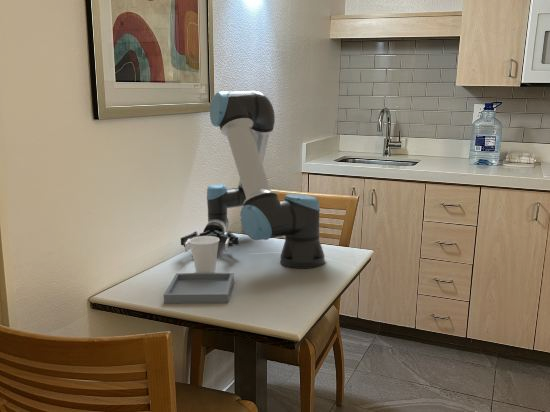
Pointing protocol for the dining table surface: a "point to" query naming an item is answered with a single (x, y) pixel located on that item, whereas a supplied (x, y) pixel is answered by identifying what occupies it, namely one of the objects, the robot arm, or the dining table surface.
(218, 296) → the tray
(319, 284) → the dining table surface
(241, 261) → the dining table surface
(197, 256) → the cup
